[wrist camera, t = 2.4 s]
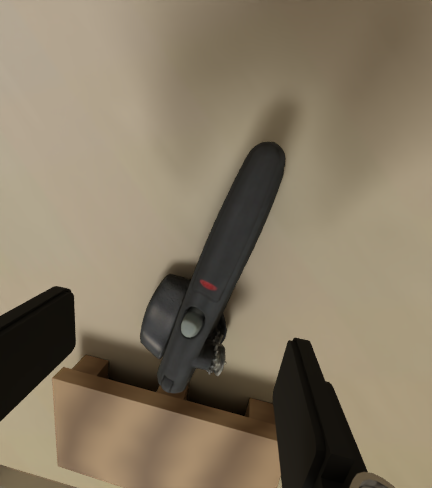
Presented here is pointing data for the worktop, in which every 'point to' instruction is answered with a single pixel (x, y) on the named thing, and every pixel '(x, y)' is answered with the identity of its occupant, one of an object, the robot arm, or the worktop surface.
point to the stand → (158, 435)
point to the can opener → (211, 277)
